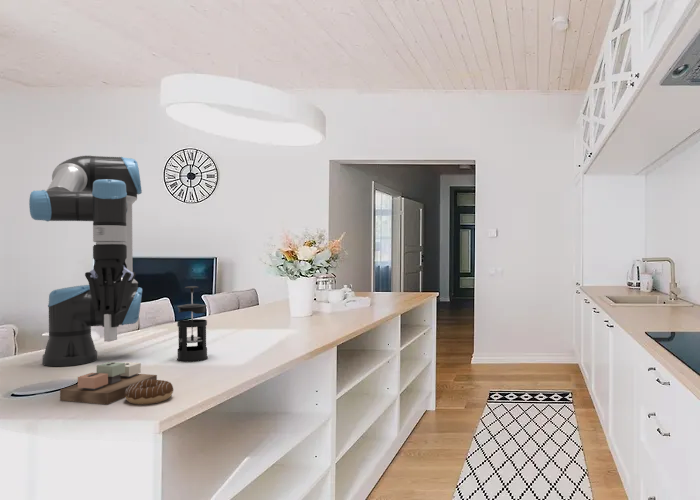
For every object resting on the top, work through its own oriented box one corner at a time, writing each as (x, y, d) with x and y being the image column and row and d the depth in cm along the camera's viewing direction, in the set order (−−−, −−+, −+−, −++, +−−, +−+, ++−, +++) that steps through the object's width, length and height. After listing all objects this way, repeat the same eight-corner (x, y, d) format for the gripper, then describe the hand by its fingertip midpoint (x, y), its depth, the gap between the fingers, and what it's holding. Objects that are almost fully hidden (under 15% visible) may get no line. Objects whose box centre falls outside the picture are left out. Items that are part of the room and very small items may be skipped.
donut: (183, 396, 127) (183, 379, 127) (150, 409, 118) (150, 390, 118) (148, 392, 132) (148, 375, 132) (114, 403, 122) (114, 386, 122)
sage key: (96, 375, 129) (96, 364, 129) (109, 371, 134) (109, 361, 134) (112, 376, 128) (112, 365, 128) (124, 372, 133) (124, 362, 133)
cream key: (113, 375, 135) (113, 365, 135) (125, 371, 140) (125, 361, 140) (129, 376, 134) (128, 366, 134) (140, 372, 138) (140, 362, 138)
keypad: (60, 400, 124) (60, 381, 124) (113, 381, 141) (113, 365, 141) (107, 404, 121) (107, 385, 121) (156, 384, 138) (156, 367, 138)
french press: (196, 363, 163) (195, 287, 163) (169, 361, 166) (168, 287, 166) (216, 355, 174) (215, 285, 174) (190, 354, 177) (190, 284, 177)
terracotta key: (77, 387, 124) (77, 376, 124) (92, 382, 128) (91, 371, 128) (94, 388, 122) (94, 377, 122) (108, 383, 127) (107, 372, 127)
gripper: (76, 243, 129) (76, 342, 129) (122, 243, 125) (123, 344, 125) (98, 244, 136) (99, 337, 136) (142, 243, 133) (143, 339, 133)
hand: (110, 340), depth 131 cm, fingers closed
